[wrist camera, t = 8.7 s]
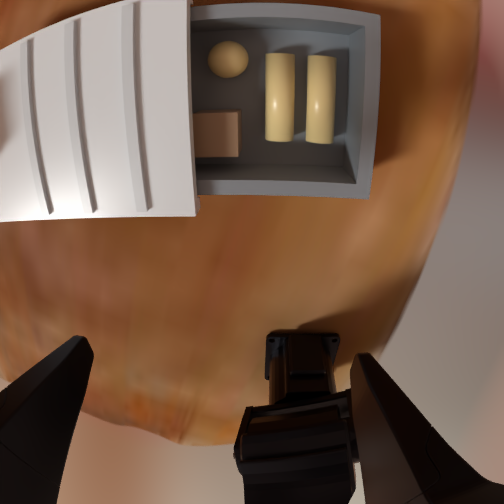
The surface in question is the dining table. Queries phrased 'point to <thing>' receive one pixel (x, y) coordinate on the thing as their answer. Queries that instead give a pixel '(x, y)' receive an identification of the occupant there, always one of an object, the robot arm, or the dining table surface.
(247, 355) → the dining table surface
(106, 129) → the lid
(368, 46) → the tub
